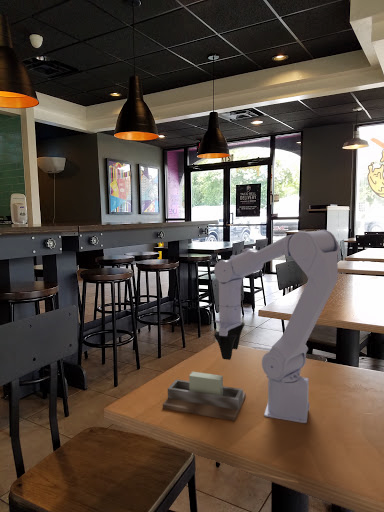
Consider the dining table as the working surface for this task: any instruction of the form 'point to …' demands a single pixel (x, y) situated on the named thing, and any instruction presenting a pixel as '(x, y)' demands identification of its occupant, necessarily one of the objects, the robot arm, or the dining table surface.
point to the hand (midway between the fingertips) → (230, 353)
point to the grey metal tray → (204, 401)
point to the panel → (206, 383)
